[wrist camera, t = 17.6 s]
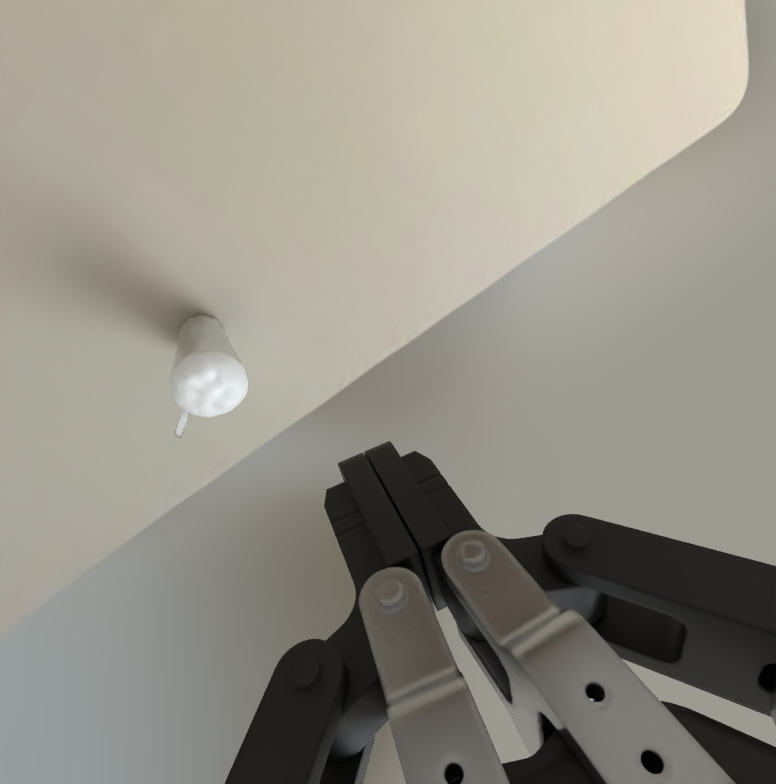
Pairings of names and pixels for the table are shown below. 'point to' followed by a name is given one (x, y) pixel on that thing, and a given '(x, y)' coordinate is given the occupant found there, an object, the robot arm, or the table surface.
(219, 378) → the milkshake
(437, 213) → the table surface
